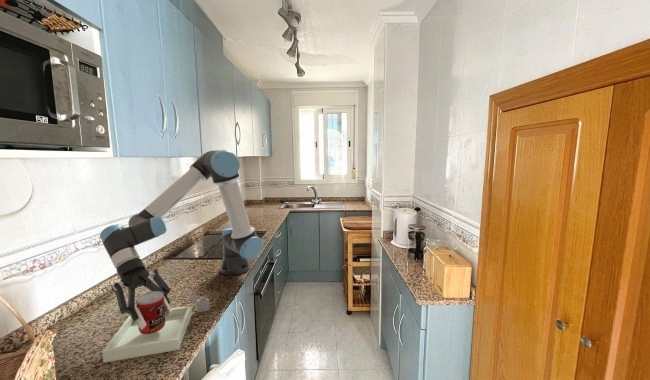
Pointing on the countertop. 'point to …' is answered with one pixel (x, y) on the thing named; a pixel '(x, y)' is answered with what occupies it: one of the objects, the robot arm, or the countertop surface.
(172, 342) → the tray
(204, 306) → the lighter
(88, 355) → the countertop surface
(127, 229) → the robot arm
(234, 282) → the countertop surface
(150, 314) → the canned food
